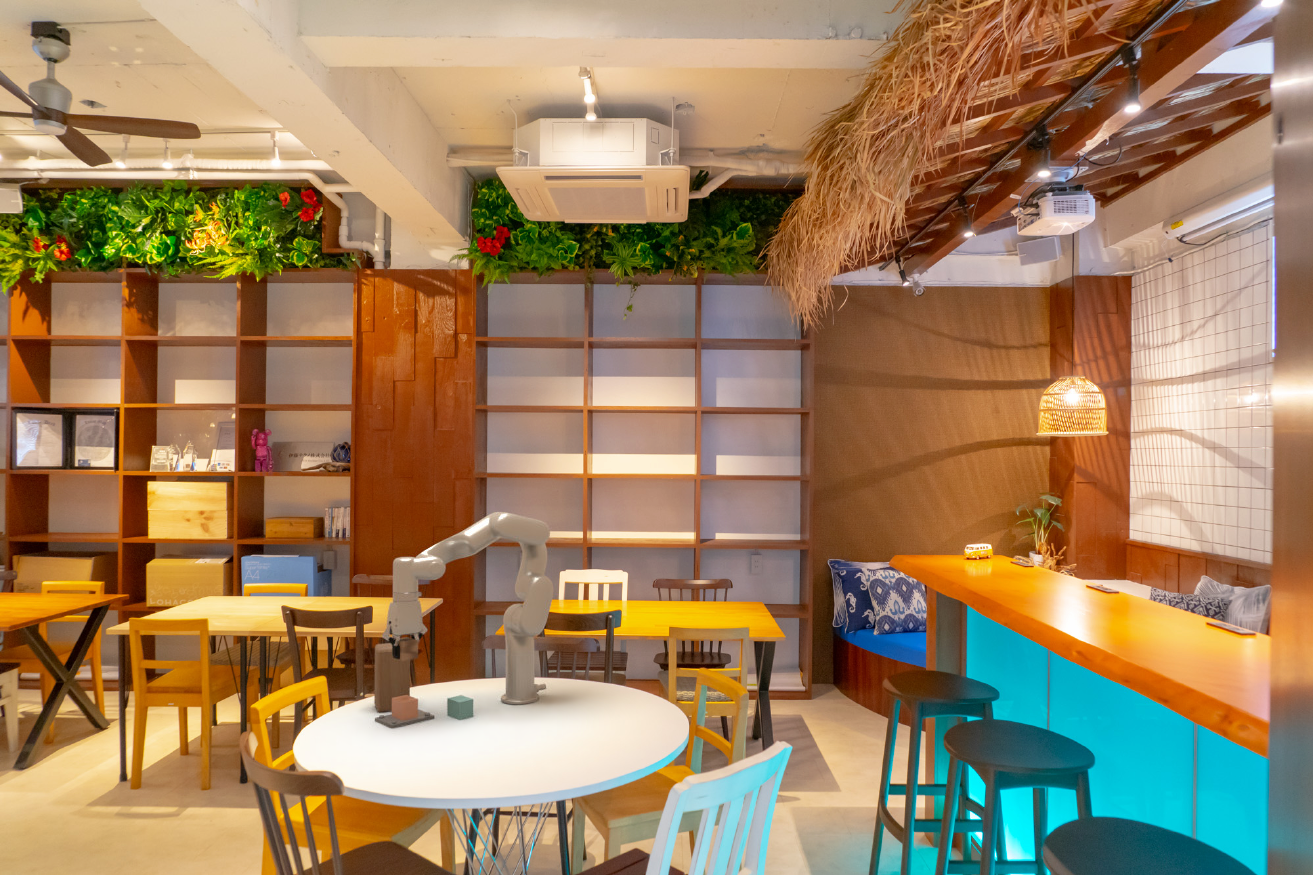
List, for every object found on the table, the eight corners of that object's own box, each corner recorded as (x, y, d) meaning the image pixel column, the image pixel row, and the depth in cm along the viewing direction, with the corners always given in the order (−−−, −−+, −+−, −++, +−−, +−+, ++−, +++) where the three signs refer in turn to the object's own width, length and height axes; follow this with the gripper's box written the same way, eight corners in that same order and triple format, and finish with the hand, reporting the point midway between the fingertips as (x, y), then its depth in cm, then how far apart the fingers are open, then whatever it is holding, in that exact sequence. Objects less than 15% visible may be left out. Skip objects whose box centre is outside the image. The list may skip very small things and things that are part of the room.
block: (374, 705, 271) (374, 643, 271) (405, 701, 275) (405, 641, 276) (377, 713, 261) (378, 649, 262) (410, 709, 266) (410, 646, 267)
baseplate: (416, 711, 263) (416, 690, 263) (434, 718, 255) (434, 697, 255) (374, 721, 253) (374, 699, 253) (391, 728, 245) (392, 706, 245)
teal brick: (461, 712, 262) (461, 695, 262) (473, 717, 257) (473, 699, 257) (447, 715, 258) (447, 698, 258) (459, 720, 253) (459, 702, 253)
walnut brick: (406, 654, 259) (406, 637, 259) (417, 658, 254) (418, 640, 254) (391, 657, 256) (392, 639, 256) (402, 660, 251) (403, 642, 251)
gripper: (424, 593, 264) (423, 650, 264) (373, 599, 252) (373, 659, 252) (436, 595, 259) (435, 654, 258) (385, 601, 247) (384, 663, 246)
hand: (404, 656), depth 255 cm, fingers closed on walnut brick, 4 cm apart
